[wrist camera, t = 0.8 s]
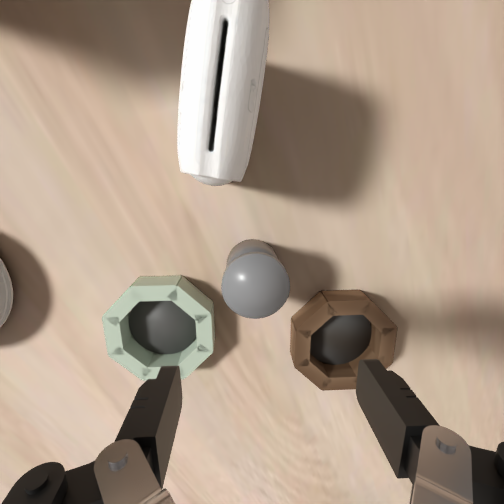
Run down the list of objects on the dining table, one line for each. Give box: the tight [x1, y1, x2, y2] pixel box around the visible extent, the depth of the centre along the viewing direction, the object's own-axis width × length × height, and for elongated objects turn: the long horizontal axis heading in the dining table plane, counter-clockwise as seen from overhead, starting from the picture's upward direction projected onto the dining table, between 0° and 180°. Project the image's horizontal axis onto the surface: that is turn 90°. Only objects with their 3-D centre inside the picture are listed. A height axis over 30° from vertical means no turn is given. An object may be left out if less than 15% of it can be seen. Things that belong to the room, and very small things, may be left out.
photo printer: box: [177, 0, 269, 186], centre depth 19 cm, size 10×4×12 cm, turn 171°
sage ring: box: [102, 276, 215, 381], centre depth 29 cm, size 10×10×2 cm
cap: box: [221, 239, 290, 319], centre depth 26 cm, size 5×5×6 cm
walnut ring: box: [290, 290, 397, 390], centre depth 30 cm, size 10×10×2 cm
